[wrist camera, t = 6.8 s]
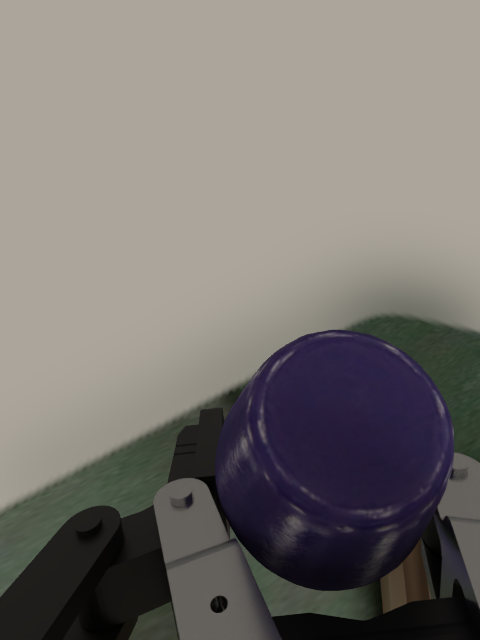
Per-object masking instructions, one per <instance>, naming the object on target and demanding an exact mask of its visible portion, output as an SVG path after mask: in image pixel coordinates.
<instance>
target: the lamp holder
mask: <svg viewBox="0 0 480 640" xmlns="http://www.w3.org/2000/svg"><path fill="white" fill-rule="evenodd" d="M380 581H381V593H382V605H383V614H384V613H386V612H388V611H391V610H393V609H395V608H398V607H400V606H402V605H405V604H407V603H409V602H412V601H420V600H429V599H431V595H430V591H429V586H428V581H427V577H426V572H425V568H424V563H423V558H422V554H421V538H420V540H419V542H418V543H417V545H416V546H415V548H414V549H413V551H412V552H411V553H410V554H409V556H408V557H407V558H406V559H405V560H404V561H403V562H402V563H401V564H400V565H399V566H398V567H397V568H396V569H394V570H393V571H391V572H390V573H389V574H387V575H385V576H384V577H382V578H381V579H380Z"/></svg>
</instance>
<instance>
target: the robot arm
mask: <svg viewBox="0 0 480 640" xmlns="http://www.w3.org/2000/svg"><path fill="white" fill-rule="evenodd" d="M223 424H224V416H223V409H222V408H212V409H202V410H201V411H200V419H199V425H191V426H186V427H185V428H184V429H183V430H182V431H181V432H180V433H179V435H178V437H177V442H176V447H175V451H174V456H173V460H172V465H171V470H170V474H169V479H168V483H167V484H166V485H165V486H163V487H162V488H161V489H160V490H159V491H158V492H157V494H156V496H155V498H154V505H152V506H151V507H149V508H147V509H145V510H143V511H141V512H138V513H136V514H133V515H130V516H127V517H124V518H121V517H120V514H119V512H118V511H117V510H116V509H115V508H113V507H110V506H95V507H91V508H88V509H85V510H83V511H81V512H79V513H77V514H76V515H74V516H73V517H71V518H70V519H69V520H68V521H67V522H66V523H65V524H64V525H63V526H62V527H61V528H60V529H59V531H58V532H57V533H56V534H55V535H54V536H53V537H52V539H51V540H50V541H49V542H48V543H47V544H46V546H45V547H44V548H43V549H42V550H41V551H40V552H39V554H38V555H37V556H36V557H35V558H34V559H33V560H32V562H31V563H30V564H29V565H28V566H27V567H26V568H25V570H24V571H23V572H22V573H21V574H20V575H19V577H18V578H17V579H16V580H15V581H14V582H13V583H12V585H11V586H10V587H9V588H8V589H7V590H6V591H5V593H4V594H3V595H2V596H1V597H0V640H128V639H129V637H130V635H131V633H132V631H133V629H134V627H135V625H136V622H137V620H138V616H139V615H142V614H144V613H146V612H148V611H151V610H153V609H155V608H157V607H160V606H162V605H164V604H166V603H169V602H171V604H172V610H173V615H174V620H175V626H176V631H177V636H178V640H480V463H479V462H477V461H476V460H474V459H472V458H470V457H468V456H466V455H463V454H459V453H455V452H454V459H453V468H452V471H451V474H450V478H449V481H448V484H447V488H446V490H445V493H444V495H443V497H442V499H441V501H440V503H439V505H438V507H437V509H436V511H435V513H434V515H433V517H432V519H431V521H430V523H429V525H428V526H427V528H426V529H425V531H424V533H423V534H422V536H421V554H422V558H423V563H424V568H425V572H426V577H427V581H428V586H429V591H430V595H431V599H429V600H420V601H412V602H409V603H407V604H405V605H402V606H400V607H398V608H395V609H393V610H391V611H388V612H386V613H384V614H381V615H379V616H377V617H374V618H372V619H370V620H365V621H361V620H354V619H347V618H340V617H334V616H327V615H321V614H314V613H303V614H294V615H284V616H275V617H271V614H270V612H269V610H268V608H267V605H266V603H265V601H264V599H263V596H262V594H261V592H260V590H259V587H258V585H257V583H256V581H255V578H254V576H253V574H252V572H251V569H250V567H249V565H248V563H247V560H246V558H245V556H244V554H243V551H242V549H241V547H240V545H239V543H238V541H237V540H236V539H235V538H234V539H231V540H230V524H229V522H228V520H227V518H226V516H225V514H224V512H223V509H222V506H221V503H220V499H219V495H218V490H217V486H216V479H215V457H216V450H217V445H218V440H219V436H220V432H221V429H222V427H223Z"/></svg>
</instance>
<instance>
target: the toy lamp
mask: <svg viewBox="0 0 480 640" xmlns="http://www.w3.org/2000/svg"><path fill="white" fill-rule="evenodd" d="M453 459H454V431H453V425H452V420H451V416H450V413H449V411H448V408H447V405H446V403H445V400H444V399H443V397H442V395H441V393H440V391H439V390H438V388H437V386H436V385H435V383H434V382H433V381H432V379H431V378H430V377H429V375H428V374H427V373H426V372H425V371H424V370H423V369H422V367H421V366H420V365H419V364H418V363H417V362H416V361H415V360H413V359H412V358H411V357H410V356H408V355H407V354H406V353H405V352H403V351H402V350H400V349H399V348H397V347H395V346H393V345H392V344H390V343H388V342H387V341H384V340H382V339H379V338H377V337H374V336H372V335H369V334H364V333H359V332H354V331H346V330H328V331H323V332H317V333H313V334H307V335H305V336H302V337H300V338H298V339H296V340H294V341H293V342H291V343H289V344H287V345H285V346H284V347H282V348H281V349H279V350H278V351H277V352H275V353H274V354H273V355H272V356H271V357H269V358H268V359H267V360H266V361H265V362H264V363H263V364H262V366H261V367H260V368H259V369H258V371H257V372H256V373H255V375H254V376H253V377H252V379H251V380H250V381H249V383H248V384H247V386H246V387H245V388H244V390H243V391H242V392H241V394H240V396H239V397H238V399H237V400H236V402H235V403H234V405H233V406H232V408H231V409H230V411H229V413H228V415H227V417H226V419H225V421H224V424H223V427H222V429H221V432H220V436H219V440H218V445H217V450H216V457H215V479H216V486H217V490H218V495H219V499H220V503H221V506H222V509H223V512H224V514H225V516H226V518H227V520H228V522H229V524H230V526H231V528H232V530H233V531H234V533H235V534H236V536H237V538H238V540H239V541H240V542H241V543H242V545H243V546H244V547H245V548H246V549H247V550H248V551H249V553H250V554H251V555H252V556H253V557H254V558H255V559H256V560H257V561H258V562H260V563H261V564H262V565H263V566H264V567H265V568H267V569H268V570H270V571H271V572H273V573H275V574H276V575H278V576H280V577H282V578H284V579H285V580H288V581H290V582H292V583H294V584H296V585H300V586H303V587H306V588H310V589H314V590H321V591H340V590H347V589H353V588H358V587H362V586H365V585H368V584H371V583H373V582H376V581H378V580H379V579H381V578H382V577H384V576H385V575H387V574H389V573H390V572H391V571H393V570H394V569H396V568H397V567H398V566H399V565H400V564H401V563H402V562H403V561H404V560H405V559H406V558H407V557H408V556H409V554H410V553H411V552H412V551H413V549H414V548H415V546H416V545H417V543H418V542H419V540H420V538H421V536H422V534H423V533H424V531H425V529H426V528H427V526H428V525H429V523H430V521H431V519H432V517H433V515H434V513H435V511H436V509H437V507H438V505H439V503H440V501H441V499H442V497H443V495H444V493H445V490H446V488H447V484H448V481H449V478H450V474H451V471H452V468H453Z"/></svg>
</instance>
